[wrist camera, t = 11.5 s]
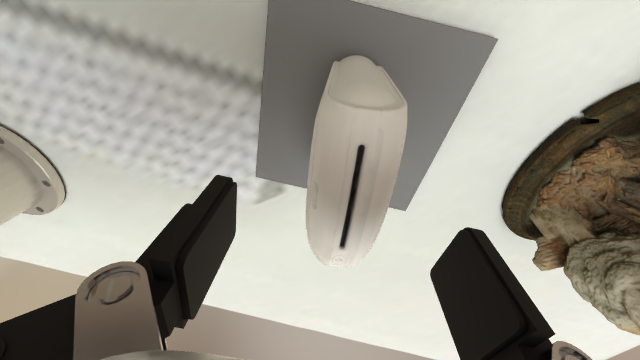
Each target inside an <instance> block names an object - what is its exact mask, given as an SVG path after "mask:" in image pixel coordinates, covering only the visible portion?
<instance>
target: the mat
mask: <svg viewBox="0 0 640 360" xmlns="http://www.w3.org/2000/svg"><path fill="white" fill-rule="evenodd" d="M497 41H498V39H497V38H493V37H489V36H485V35H481V34H477V33H473V32H469V31H466V30H462V29H458V28H454V27H450V26H446V25H442V24H438V23H434V22H430V21H427V20H423V19H419V18H415V17H411V16H407V15H403V14H399V13H395V12H392V11H388V10H384V9H380V8H376V7H372V6H368V5H364V4H360V3H357V2H353V1H349V0H269V2H268V16H267V30H266V43H265V57H264V71H263V84H262V98H261V112H260V125H259V139H258V153H257V166H256V177H259V178H263V179H268V180H272V181H276V182H281V183H285V184H289V185H294V186H298V187H303V188H307V183H308V172H309V162H310V153H311V144H312V138H313V130H314V124H315V119H316V114H317V111H318V108H319V105H320V101H321V98H322V95H323V93H324V90H325V87H326V83H327V80H328V77H329V74H330V71H331V68H332V65H333V63H334V61H338V62H339V61H341V60H342V59H344V58H346V57H348V56H352V55H360V56H364V57H366V58H368V59H370V60H371V61H372V62H373V63H374V64H375V65H376V66H381V67H383V69H384V70H385V71H386V72H387V74H388V75H389V77H390V78H391V79H392V81H393V82H394V84H395V85H396V87H397V88H398V90H399V91H400V92H401V94H402V95H403V97H404V99H405V100H406V101H407V130H406V138H405V144H404V149H403V154H402V158H401V163H400V167H399V170H398V175H397V179H396V182H395V186H394V189H393V193H392V196H391V200H390V203H389V206H388V207H390V208H395V209H399V210H403V211H406V209H407V207H408V205H409V203H410V202H411V200H412V198H413V196H414V194H415V192H416V191H417V189H418V187H419V185H420V183H421V181H422V179H423V178H424V176H425V174H426V172H427V170H428V168H429V166H430V165H431V163H432V161H433V159H434V157H435V155H436V154H437V152H438V150H439V148H440V146H441V144H442V142H443V141H444V139H445V137H446V135H447V133H448V131H449V129H450V128H451V126H452V124H453V122H454V120H455V118H456V116H457V115H458V113H459V111H460V109H461V107H462V105H463V104H464V102H465V100H466V98H467V96H468V94H469V92H470V91H471V89H472V87H473V85H474V83H475V81H476V79H477V78H478V76H479V74H480V72H481V70H482V68H483V67H484V65H485V63H486V61H487V59H488V57H489V55H490V54H491V52H492V50H493V48H494V46H495V44H496V42H497Z"/></svg>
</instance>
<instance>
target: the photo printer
mask: <svg viewBox="0 0 640 360" xmlns="http://www.w3.org/2000/svg"><path fill="white" fill-rule="evenodd" d="M406 130H407V101H406V100H405V99H404V97H403V95H402V94H401V92H400V91H399V90H398V88H397V87H396V85H395V84H394V82H393V81H392V79H391V78H390V77H389V75H388V74H387V72H386V71H385V70H384V69H383V67H381V66H376V65H375V64H374V63H373V62H372V61H371V60H370V59H368V58H366V57H364V56H360V55H352V56H348V57H346V58H344V59H342V60H341V61H339V62H338V61H334V63H333V65H332V68H331V71H330V74H329V77H328V80H327V83H326V87H325V90H324V93H323V95H322V98H321V101H320V105H319V108H318V111H317V114H316V119H315V124H314V130H313V138H312V144H311V153H310V162H309V172H308V183H307V198H306V230H307V236H308V241H309V244H310V247H311V249H312V251H313V253H314V255H315V256H316V258H317V259H318V260H319V261H320V262H322V263H323V264H324V265H326V266H334V265H336V266H341V267H343V268H350V267H352V266H354V265H356V264H357V263H358V262H359V261H361V260H362V259H363V258H364V257H365V255H366V254H367V253H368V252H369V250H370V249H371V247H372V245H373V243H374V242H375V240H376V237H377V235H378V233H379V231H380V228H381V226H382V223H383V220H384V218H385V215H386V212H387V209H388V206H389V203H390V200H391V196H392V193H393V189H394V186H395V182H396V179H397V175H398V170H399V167H400V163H401V158H402V154H403V149H404V144H405V138H406Z"/></svg>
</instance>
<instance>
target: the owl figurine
mask: <svg viewBox="0 0 640 360" xmlns="http://www.w3.org/2000/svg"><path fill="white" fill-rule="evenodd" d="M583 113H584V116H585V117H586V118H588V119H599V120H600V122H599V123H594V124H581V123H580V122H581V121H580V120H578V119H576V120H572V121H571V122H569V123H567V124H565V125H563V126H562V127H560V128H559V129H558V130H557V131H556V132H554V133H553V134H552V135H551V136H550V137H549V138H548V139H547V140H546V141H545V142H544V143H543V144H542V145H541V146H540V147H539V148H538V149H537V150H536V151H535V152H534V153H533V154H532V155H531V156H530V157H529V158H528V159H527V160H526V161H525V162H524V164H523V165H522V167H521V168H520V170H519V171H518V172H517V174H516V175H515V177H514V178H513V180H512V181H511V183H510V185H509V187H508V189H507V191H506V193H505V197H504V202H503V204H502V208H503V213H504V216H505V217H503V219H504V222H505V223H506V225H507V226H508V228H509V229H510V230H511V231H512V232H514V233H515V234H516V235H518V236H520V237H523V238H526V239H530V240H535V241H536V243H537V246H538V249H537V251H536V252H535V257H534V258H533V259H532V261H533V263H534V264H535V265H536V266H537V267H538V268H539V269H540V270H541V271H545V270H551V269H555V268H559V267H564V273H565V275H566V276H567V277H568V278H569V279H570V281H571V282H572V286H573V288H574V289H575V290H576V292H577V293H578V294H579V295H580V296H581V297H582V298H583V299H584V300H586V301H587V302H590V303H591V304H592V306H593V307H595V308H596V309H597V310H598V311H600V312H601V313H602V314H603V315H604V316H605V317H606V319H607V320H608V321H610V322H611V323H613V324H615V325H616V326H617V327H618V328H619V329H621V330H624V331H627V332H630V333H633V334H636V335H640V83H637V84H634V85H632V86H629V87H627V88H624V89H622V90H620V91H618V92H616V93H614V94H612V95H610V96H609V97H607V98H606V99H604V100H602V101H601V102H600V103H599V104H596V105H594V106H591V107H590V108H588V109H587V110H585V111H584V112H583Z"/></svg>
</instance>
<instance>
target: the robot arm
mask: <svg viewBox="0 0 640 360" xmlns="http://www.w3.org/2000/svg"><path fill="white" fill-rule="evenodd" d="M64 197H65V191H64V186H63V184H62V181H61V179H60V177H59V175H58V174H57V172H56V171H55V169H54V168H53V167H52V165H51V164H50V163H49V162H48V160H47V159H46V158H45V157H44V156H42V155H41V154H40V153H39V152H38V151H37V150H36V149H35V148H34V147H32V146H31V145H30V144H29V143H28V142H26V141H25V140H23V139H22V138H20V137H19V136H17V135H16V134H14V133H13V132H11V131H9V130H7V129H5V128H3V127H2V126H0V225H2V224H4V223H5V222H7V221H9V220H10V219H12V218H14V217H16V216H17V215H19V214H21V213H25V214H31V215H42V214H47V213H49V212H51V211H53V210H55V209H56V208H58V207H59V206H60V205H62V203H63V201H64ZM236 201H237V183H236V182H233V179H232V178H230V177H225V176H220V175H216V176H215V177H214V178H213V180H212V181H211V182H210V183H209V185H208V186H207V187H206V188H205V189H204V191H203V192H202V193H201V194H200V196H199V197H198V198H197V199H196V201H195V202H194V203H193V204H185V205H184V206H183V207H182V208H181V209H180V211H179V212H178V213H177V214H176V215H175V216H174V218H173V219H172V220H171V221H170V222H169V223H168V225H167V226H166V227H165V228H164V229H163V230H162V232H161V233H160V234H159V235H158V236H157V237H156V239H155V240H154V241H153V242H152V243H151V244H150V246H149V247H148V248H147V249H146V250H145V251H144V253H143V254H142V255H141V256H140V257H139V259H138V260H137V261H136V262H118V263H113V264H110V265H107V266H105V267H102V268H100V269H99V270H97V271H95V272H94V273H92V274H91V275H90V276H89V277H88V278H86V279H85V280H84V281H83V283H82V284H81V286H80V287H79V288H78V290H77V294H75V295H72V296H70V297H67V298H64V299H62V300H60V301H57V302H54V303H52V304H49V305H46V306H44V307H41V308H39V309H36V310H33V311H31V312H29V313H26V314H23V315H21V316H18V317H15V318H13V319H10V320H8V321H5V322H3V323H0V360H248V359H241V358H233V357H226V356H220V355H213V354H206V353H195V352H185V351H168V348H167V344H166V339H165V338H167V337H168V336H170V334H171V333H172V331H173V329H174V327H178V328H184V327H185V325H186V323H187V321H188V319H194V318H195V316H196V314H197V312H198V310H199V308H200V306H201V304H202V302H203V300H204V298H205V296H206V294H207V292H208V290H209V288H210V286H211V284H212V282H213V280H214V278H215V276H216V274H217V272H218V269H219V267H220V265H221V263H222V261H223V259H224V257H225V255H226V253H227V251H228V249H229V247H230V245H231V243H232V241H233V239H234V236H235V232H236ZM430 276H431V280H432V282H433V285H434V288H435V291H436V293H437V296H438V299H439V302H440V304H441V307H442V310H443V313H444V315H445V318H446V321H447V324H448V326H449V329H450V332H451V335H452V337H453V340H454V343H455V346H456V348H457V351H458V354H459V357H460V360H592V359H591V358H590V357H589V356H588V355H586V354H585V353H584V352H583V351H581V350H580V349H578V348H577V347H575V346H573V345H572V344H569V343H566V342H563V341H557V342H555V343H553V344H552V343H551V342H550V340H549V338H550V337H552V336H553V335H555V333H554V331H553V330H552V329H551V327H550V326H549V324H548V323H547V321H546V320H545V319H544V317H543V316H542V314H541V313H540V311H539V310H538V309H537V307H536V306H535V304H534V303H533V301H532V300H531V299H530V297H529V296H528V294H527V293H526V291H525V290H524V289H523V287H522V286H521V284H520V283H519V281H518V280H517V279H516V277H515V276H514V274H513V273H512V271H511V270H510V268H509V267H508V266H507V264H506V263H505V261H504V260H503V258H502V257H501V256H500V254H499V253H498V251H497V250H496V248H495V247H494V246H493V244H492V243H491V241H490V240H489V238H488V237H487V236H486V234H485V233H484V232H483V231H482V230H478V229H473V228H464V229H463V230H460V231H459V232H458V234H457V235H456V236H455V238H454V239H453V240H452V242H451V243H450V245H449V246H448V247H447V249H446V250H445V251H444V253H443V254H442V255H441V257H440V258H439V259H438V261H437V262H436V264H435V265H434V266H433V268H432V269H431V272H430Z"/></svg>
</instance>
